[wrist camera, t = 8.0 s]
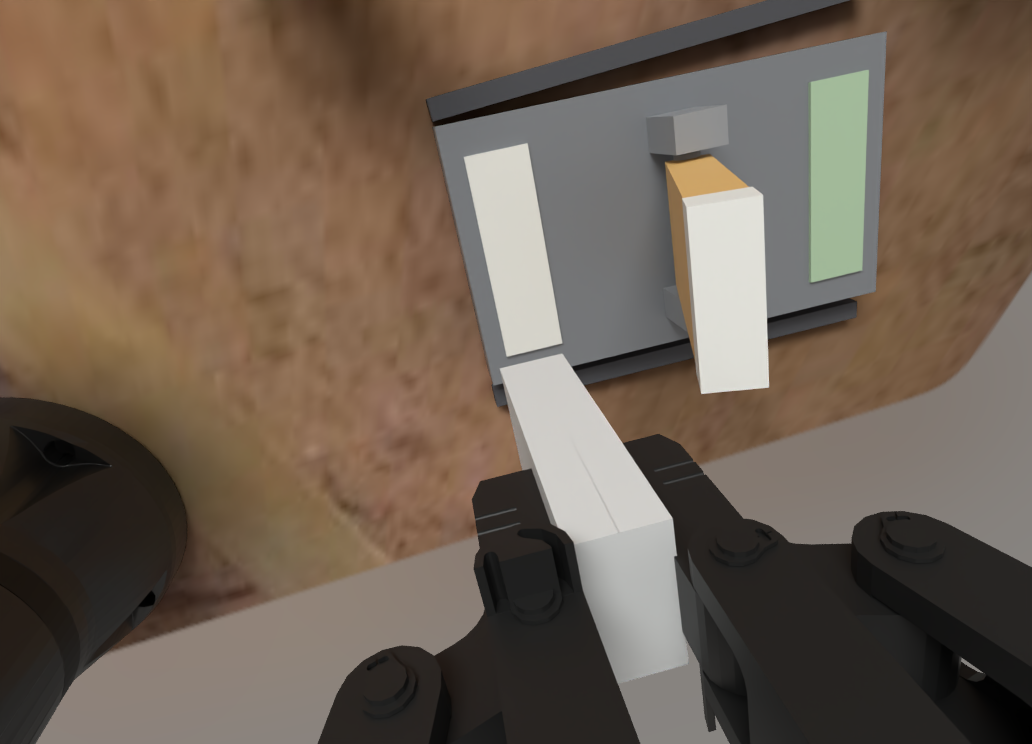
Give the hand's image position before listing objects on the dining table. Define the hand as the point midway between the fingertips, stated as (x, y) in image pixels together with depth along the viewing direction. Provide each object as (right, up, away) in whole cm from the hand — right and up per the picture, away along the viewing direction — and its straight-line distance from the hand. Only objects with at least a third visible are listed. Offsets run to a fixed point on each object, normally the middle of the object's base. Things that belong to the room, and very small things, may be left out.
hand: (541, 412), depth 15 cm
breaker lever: (+8, +8, +15) cm, 19 cm away
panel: (+7, +10, +19) cm, 22 cm away
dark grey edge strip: (+9, +2, +22) cm, 23 cm away
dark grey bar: (+6, +17, +15) cm, 24 cm away
